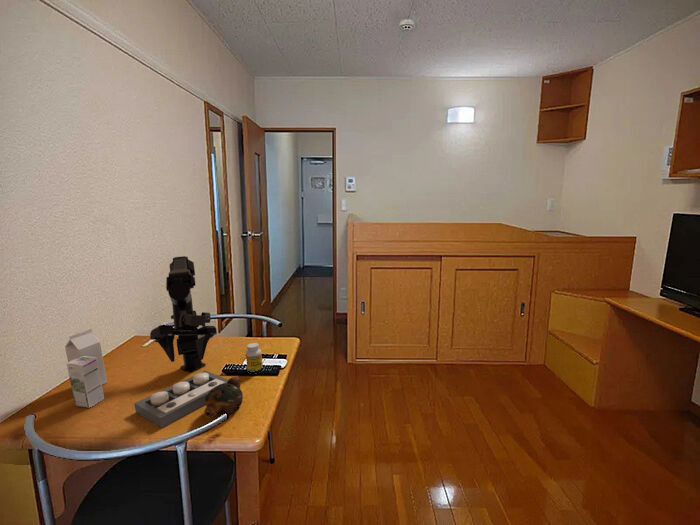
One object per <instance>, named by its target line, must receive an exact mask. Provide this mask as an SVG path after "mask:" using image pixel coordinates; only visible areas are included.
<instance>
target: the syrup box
mask: <svg viewBox="0 0 700 525" xmlns="http://www.w3.org/2000/svg"><path fill="white" fill-rule="evenodd" d="M66 366H67V372H68V375H69V376H68V378H69V383H70V387H71V390H72V391H71V392H72V397H73V401H74V406H75V407H78V406H80V407H79V408H84V407H87V409H90V407H91V408H92V406H93V407H94V406H95V404H96V405H98V404H99V403H101V402H103V401H104V400H105V394H104V390H103V385H102V384H101V378H100V373H99V368H98V362H97V357H90V356H80V357H78V358H76V359H74V360H72V361H70V362H68V361H67V362H66ZM100 401H101V402H100ZM98 402H99V403H98ZM97 403H98V404H97Z"/></svg>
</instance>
